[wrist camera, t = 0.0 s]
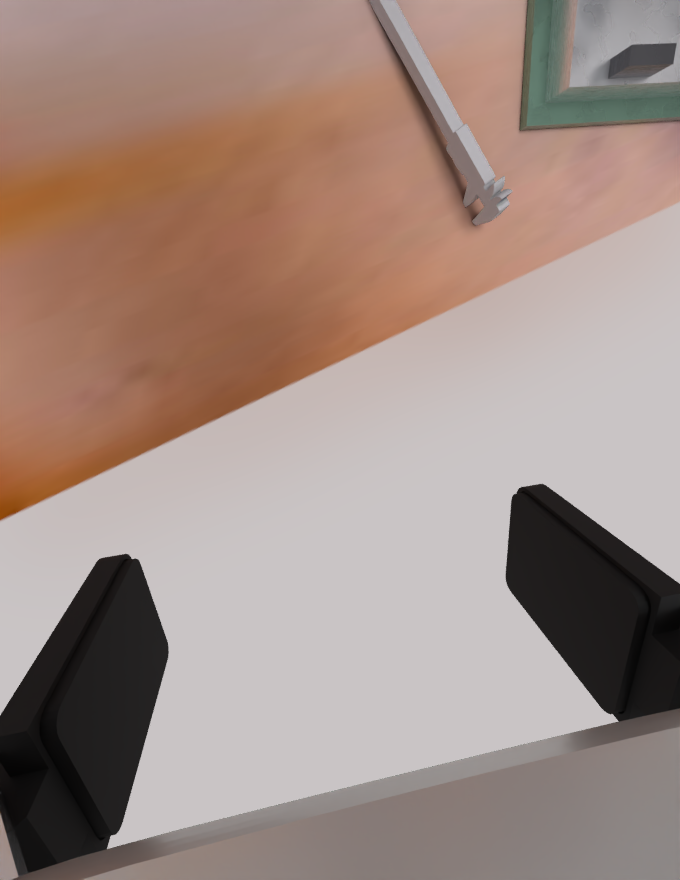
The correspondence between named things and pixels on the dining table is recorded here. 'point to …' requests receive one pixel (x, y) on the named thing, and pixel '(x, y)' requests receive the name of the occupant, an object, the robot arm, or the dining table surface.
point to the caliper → (445, 116)
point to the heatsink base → (578, 110)
